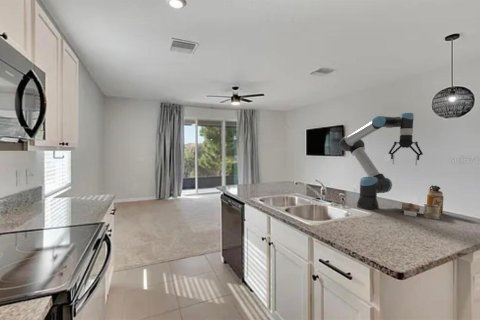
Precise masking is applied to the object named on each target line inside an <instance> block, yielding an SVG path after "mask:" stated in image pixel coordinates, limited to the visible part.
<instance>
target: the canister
mask: <svg viewBox="0 0 480 320" xmlns="http://www.w3.org/2000/svg"><path fill="white" fill-rule="evenodd" d="M440 190H441V187H440V186H438V185H433V184H432V185H431V186H429V190H428V194H427V195H426V197H427V198H426V204H428V205H437V206H439V207H440V208H441V214H440V215H442V214H443V211H444V209H443V208H444V195H443V194H444V193H443V191H440Z"/></svg>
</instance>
